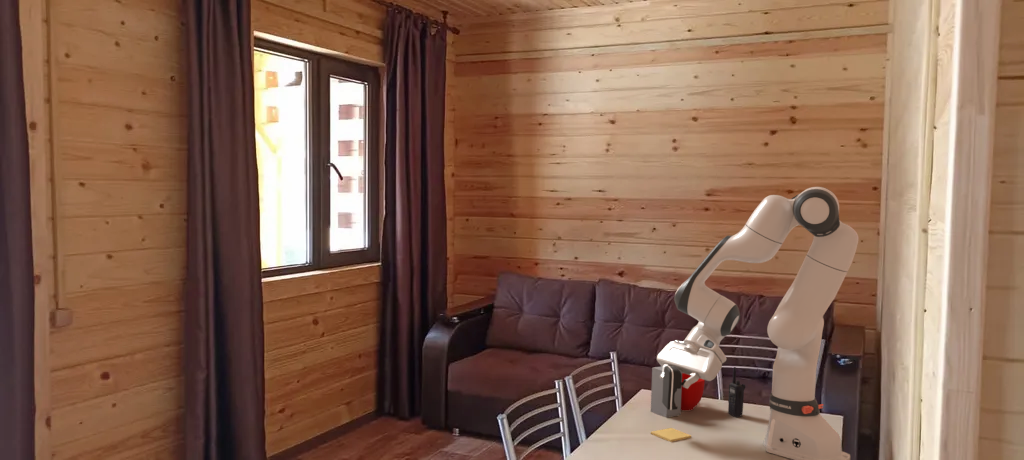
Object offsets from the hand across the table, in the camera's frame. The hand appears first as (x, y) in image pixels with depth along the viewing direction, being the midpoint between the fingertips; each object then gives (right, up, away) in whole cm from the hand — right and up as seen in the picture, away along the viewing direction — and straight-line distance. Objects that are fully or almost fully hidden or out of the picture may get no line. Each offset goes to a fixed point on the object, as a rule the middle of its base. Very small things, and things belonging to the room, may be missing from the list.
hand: (673, 382), depth 215 cm
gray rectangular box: (+2, -14, +23) cm, 27 cm away
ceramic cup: (+10, -14, +31) cm, 36 cm away
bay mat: (-1, -15, 0) cm, 15 cm away
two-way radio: (+25, -15, +23) cm, 37 cm away
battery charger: (0, -7, 0) cm, 7 cm away
